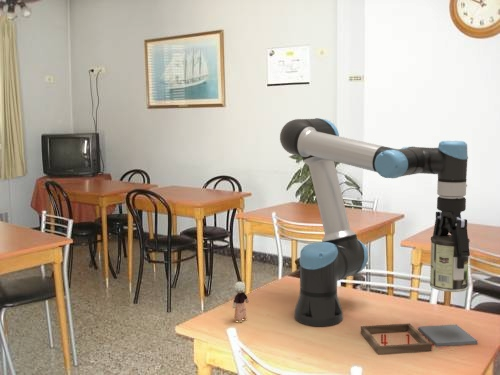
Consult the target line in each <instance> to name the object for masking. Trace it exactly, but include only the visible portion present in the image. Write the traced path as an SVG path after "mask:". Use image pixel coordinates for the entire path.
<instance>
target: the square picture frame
mask: <svg viewBox="0 0 500 375" xmlns="http://www.w3.org/2000/svg"><path fill="white" fill-rule="evenodd" d="M398 332H399V333H403V332H404V333H405V332H408V334H410V335H411V336H412V337H413V338H414V339H415V340H416V341H417V342H418V343H405V344H390V345H388V344H386V345H380V343H379V341H377V340H376V338H375V337H374V336H373V335H372V334H386V333H398ZM360 334H361V335H362V336H363V337H364V339H365V340H366V341H367V342H368V344H369V345H370V346H371V348H372V349H373V350H374V352H376V354H377V355H391V354H393V355H395V354H406V353H408V354H409V353H411V354H412V353H422V352H423V353H425V352H432V351H433V346H432V345H433V343H432V342H431V341H430V340H428V339H427V338H426V337H425V336H424V335H423V334H422V333H421V332H420V331H419V330H418V329H416V328H415V327H414V326H413V325H412V324H411V323H410V322H409V323H395V324H394V323H393V324H392V323H391V324H377V325H373V324H372V325H362V326H360Z"/></svg>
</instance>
